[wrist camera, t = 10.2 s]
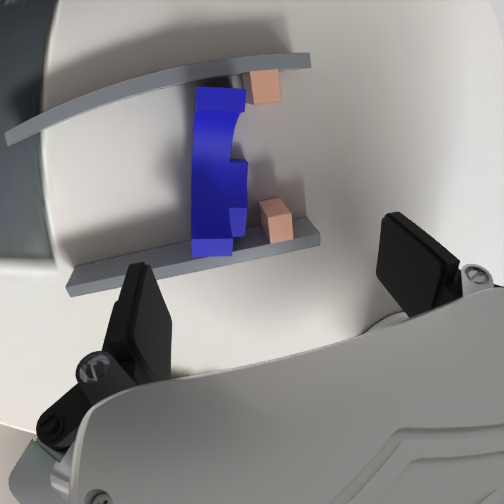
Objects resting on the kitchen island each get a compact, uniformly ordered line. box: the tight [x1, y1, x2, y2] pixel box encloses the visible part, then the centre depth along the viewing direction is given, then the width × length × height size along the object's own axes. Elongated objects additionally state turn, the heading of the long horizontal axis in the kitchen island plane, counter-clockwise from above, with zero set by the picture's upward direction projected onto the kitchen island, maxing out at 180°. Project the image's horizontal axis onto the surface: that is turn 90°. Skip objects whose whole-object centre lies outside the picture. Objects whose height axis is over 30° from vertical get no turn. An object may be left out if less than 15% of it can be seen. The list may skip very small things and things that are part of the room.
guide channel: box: [4, 53, 320, 297], centre depth 22 cm, size 24×16×4 cm
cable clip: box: [191, 87, 248, 257], centre depth 21 cm, size 12×4×6 cm, turn 174°
